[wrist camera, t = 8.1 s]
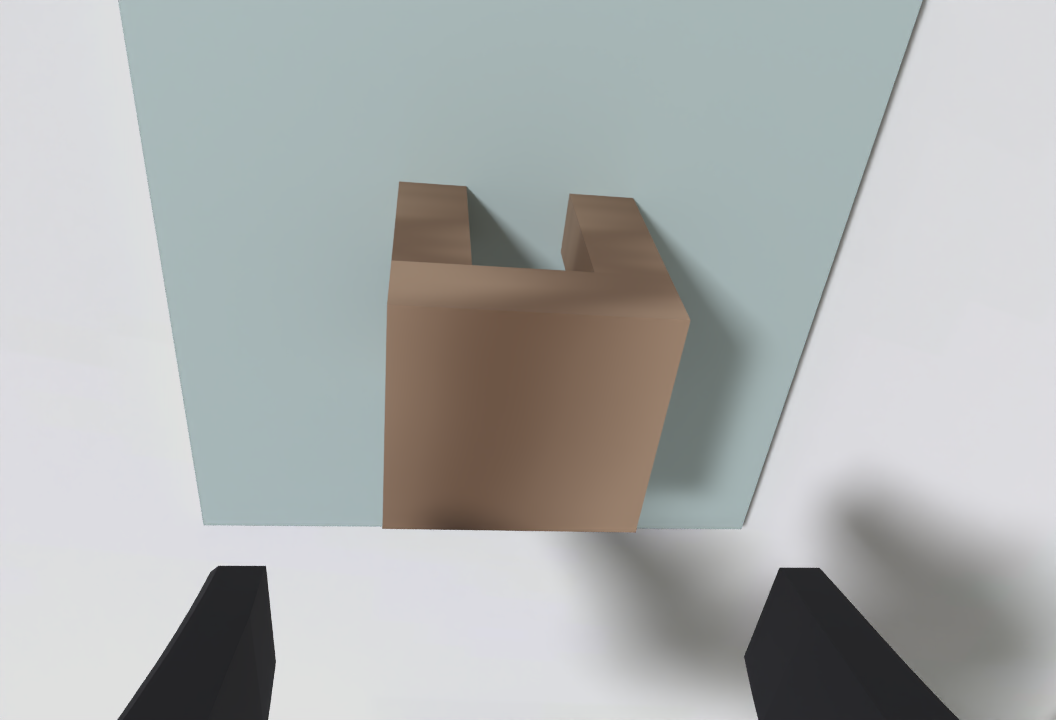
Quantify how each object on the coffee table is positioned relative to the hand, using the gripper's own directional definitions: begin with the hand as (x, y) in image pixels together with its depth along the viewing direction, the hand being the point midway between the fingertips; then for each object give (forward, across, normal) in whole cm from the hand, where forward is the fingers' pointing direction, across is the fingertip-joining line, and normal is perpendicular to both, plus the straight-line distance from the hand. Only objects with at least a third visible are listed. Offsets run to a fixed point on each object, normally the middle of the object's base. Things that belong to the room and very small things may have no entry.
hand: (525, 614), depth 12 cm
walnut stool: (+9, 0, 0) cm, 9 cm away
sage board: (+9, 0, 0) cm, 9 cm away
